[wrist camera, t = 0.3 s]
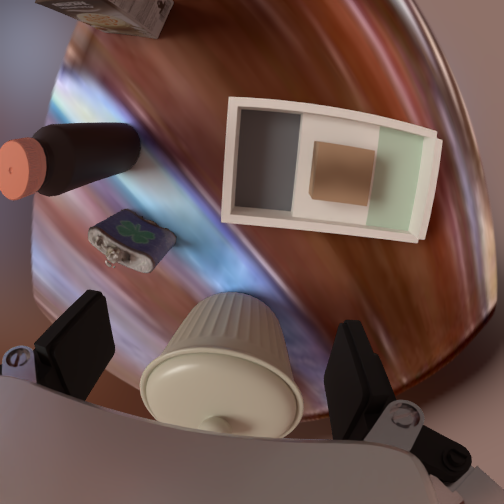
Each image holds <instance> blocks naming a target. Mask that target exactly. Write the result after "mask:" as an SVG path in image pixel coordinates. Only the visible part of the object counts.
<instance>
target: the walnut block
mask: <svg viewBox="0 0 504 504" xmlns="http://www.w3.org/2000/svg"><path fill="white" fill-rule="evenodd" d="M374 156H375V151H374V150H369V149H363V148H358V147H352V146H346V145H340V144H333V143H326V142H319V141H314V147H313V157H312V166H311V175H310V183H309V192H308V193H309V195H310V196H311V198H312V199H314V200H322V201H330V202H338V203H346V204H353V205H361V206H367V203H368V197H369V191H370V185H371V178H372V171H373V164H374Z"/></svg>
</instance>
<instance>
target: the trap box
mask: <svg viewBox="0 0 504 504" xmlns="http://www.w3.org/2000/svg"><path fill="white" fill-rule="evenodd" d="M314 141H319V142H326V143H333V144H340V145H346V146H352V147H358V148H363V149H369V150H374V151H375V156H374V164H373V171H372V178H371V185H370V191H369V197H368V203H367V206H361V205H353V204H346V203H338V202H330V201H322V200H314V199H312V198H311V196H310V195H309V193H308V192H309V183H310V175H311V166H312V157H313V147H314ZM442 141H443V140H440V139H437V131H434V130H431V129H428V128H424V127H421V126H417V125H413V124H410V123H406V122H402V121H398V120H394V119H390V118H386V117H381V116H377V115H372V114H368V113H363V112H358V111H352V110H347V109H341V108H336V107H329V106H323V105H316V104H309V103H301V102H292V101H283V100H273V99H260V98H245V97H229V102H228V115H227V128H226V143H225V158H224V174H223V192H222V211H221V222H223V223H234V224H246V225H257V226H267V227H278V228H288V229H298V230H308V231H317V232H326V233H336V234H345V235H353V236H362V237H371V238H379V239H387V240H395V241H403V242H411V243H418V240H419V239H422V240H425V236H426V232H427V228H428V224H429V219H430V215H431V210H432V205H433V200H434V195H435V189H436V184H437V178H438V171H439V165H440V158H441V150H442Z"/></svg>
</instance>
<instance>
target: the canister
mask: <svg viewBox="0 0 504 504" xmlns="http://www.w3.org/2000/svg"><path fill="white" fill-rule="evenodd" d="M140 393H141V397H142V399H143V402H144V404H145V406H146V408H147V409H148V411H149V412H150V413H151V414H152V416H153V417H154V418H155V419H156V420H157V421H158V422H163V423H168V424H173V425H178V426H183V427H188V428H194V429H200V430H207V431H213V432H220V433H228V434H236V435H246V436H256V437H270V438H283V437H285V436H286V435H288V434H289V433H290V432H291V431H292V430H293V429H294V428H295V427H296V426H297V424H298V423H299V422H300V420H301V418H302V415H303V411H304V401H303V397H302V394H301V391H300V389H299V388H298V386H297V385H296V383H295V382H294V379H293V375H292V370H291V366H290V361H289V356H288V352H287V347H286V343H285V340H284V336H283V332H282V329H281V326H280V323H279V321H278V319H277V318H276V316H275V314H274V312H273V311H271V309H270V308H269V307H268V306H266V305H265V303H264V302H262V301H260V300H258V299H257V298H254V297H252V296H251V295H246V294H244V293H237V292H226V293H222V292H221V293H219V294H214V295H212V296H210V297H207V298H205V299H204V300H203V301H201V302H199V303H198V304H197V305H196V306H195V307H194V308H193V309H192V310H191V312H190V313H189V314H188V316H187V317H186V319H185V320H184V321H183V323H182V324H181V325H180V327H179V328H178V330H177V331H176V333H175V334H174V336H173V337H172V339H171V340H170V342H169V343H168V345H167V346H166V348H165V349H164V351H163V352H162V354H161V355H160V356H159V357H157V358H156V359H154V360H153V361H152V362H151V363H150V364H149V365H148V366H147V367H146V369H145V370H144V372H143V374H142V376H141V380H140Z"/></svg>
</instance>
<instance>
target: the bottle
mask: <svg viewBox="0 0 504 504" xmlns="http://www.w3.org/2000/svg"><path fill="white" fill-rule="evenodd" d="M140 149H141V146H140V139H139V136H138V134H137V132H136V131H135V130H134V129H133V128H132V127H131V126H129V125H127V124H124V123H69V124H51V125H48V126H45V127H42V128H41V129H40V130H38V131H37V132H36V133H35V134H34V135H33V137H32V138H28V137H27V138H21V139H15V140H9V141H8V142H6V143H5V144H4V145H3V146H2V147H1V149H0V190H1V192H2V194H3V195H5V196H6V197H7V198H9V199H10V200H18V199H21V198H23V197H26V196H29V195H31V194H34V193H35V192H37V191H38V192H39V193H40V194H42V195H45V196H49V197H50V196H56V195H60V194H62V193H65V192H68V191H70V190H73V189H76V188H78V187H81V186H84V185H86V184H89V183H92V182H95V181H98V180H101V179H104V178H107V177H110V176H113V175H116V174H119V173H122V172H124V171H126V170H128V169H130V168H131V167H132V166H133V165H134V164H135V163H136V161H137V159H138V157H139V154H140Z"/></svg>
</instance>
